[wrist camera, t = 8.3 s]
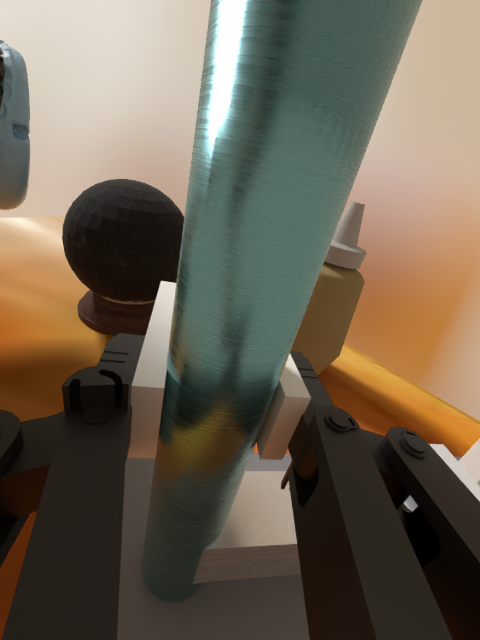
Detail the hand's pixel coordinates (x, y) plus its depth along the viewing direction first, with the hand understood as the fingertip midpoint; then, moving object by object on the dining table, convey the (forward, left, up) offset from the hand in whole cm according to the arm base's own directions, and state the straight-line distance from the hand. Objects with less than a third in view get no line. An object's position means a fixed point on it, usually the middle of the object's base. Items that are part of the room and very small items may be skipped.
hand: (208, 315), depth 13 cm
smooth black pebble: (0, +22, -12) cm, 25 cm away
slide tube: (+4, -7, -11) cm, 13 cm away
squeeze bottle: (+16, +8, -12) cm, 22 cm away
